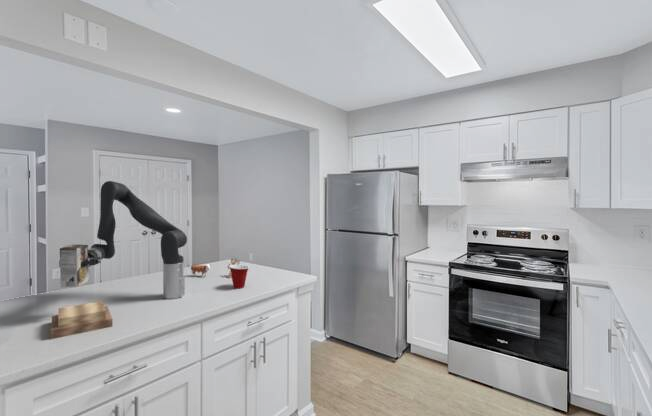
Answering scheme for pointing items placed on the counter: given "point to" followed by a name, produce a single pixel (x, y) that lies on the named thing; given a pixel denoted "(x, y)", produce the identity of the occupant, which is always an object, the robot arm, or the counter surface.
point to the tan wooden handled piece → (229, 267)
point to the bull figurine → (200, 269)
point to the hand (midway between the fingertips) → (72, 265)
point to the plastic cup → (238, 275)
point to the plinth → (79, 326)
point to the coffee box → (73, 265)
